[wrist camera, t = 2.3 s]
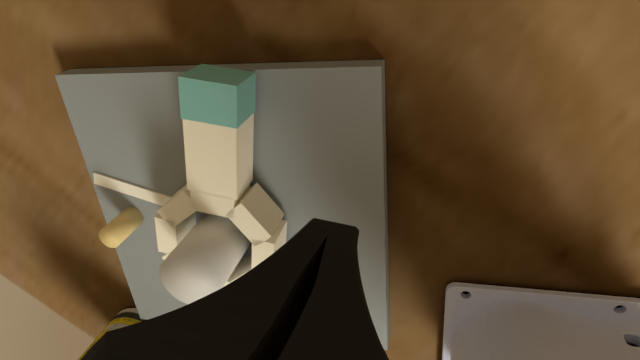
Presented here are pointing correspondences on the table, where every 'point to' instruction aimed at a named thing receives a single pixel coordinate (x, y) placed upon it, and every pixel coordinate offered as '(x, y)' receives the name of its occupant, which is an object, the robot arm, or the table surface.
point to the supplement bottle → (119, 323)
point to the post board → (268, 170)
